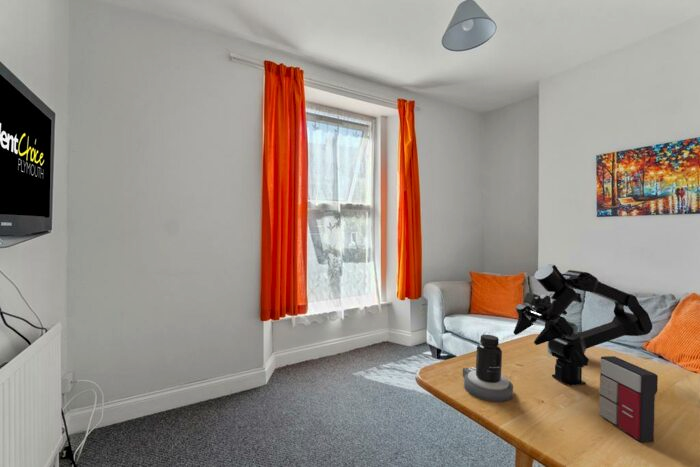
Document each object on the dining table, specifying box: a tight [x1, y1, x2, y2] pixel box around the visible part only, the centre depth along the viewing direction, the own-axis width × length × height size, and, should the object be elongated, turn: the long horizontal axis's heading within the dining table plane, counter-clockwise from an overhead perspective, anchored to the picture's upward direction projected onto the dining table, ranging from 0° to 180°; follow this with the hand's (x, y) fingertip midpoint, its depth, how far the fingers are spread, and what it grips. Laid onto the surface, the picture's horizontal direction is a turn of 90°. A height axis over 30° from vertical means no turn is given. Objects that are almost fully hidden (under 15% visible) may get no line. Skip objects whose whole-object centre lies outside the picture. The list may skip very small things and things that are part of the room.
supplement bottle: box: [475, 334, 503, 383], centre depth 94 cm, size 7×7×12 cm
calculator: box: [598, 355, 659, 443], centre depth 76 cm, size 11×4×15 cm, turn 5°
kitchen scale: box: [462, 366, 514, 403], centre depth 95 cm, size 13×16×4 cm
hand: (524, 338), depth 99 cm, fingers open, 9 cm apart
